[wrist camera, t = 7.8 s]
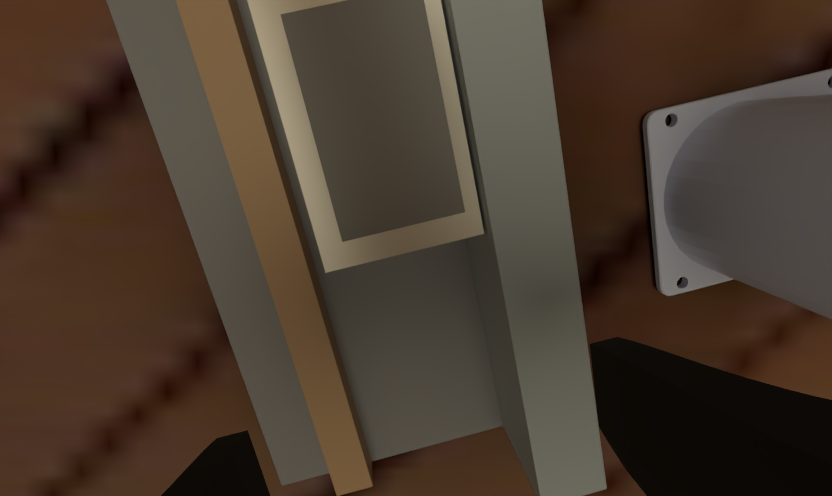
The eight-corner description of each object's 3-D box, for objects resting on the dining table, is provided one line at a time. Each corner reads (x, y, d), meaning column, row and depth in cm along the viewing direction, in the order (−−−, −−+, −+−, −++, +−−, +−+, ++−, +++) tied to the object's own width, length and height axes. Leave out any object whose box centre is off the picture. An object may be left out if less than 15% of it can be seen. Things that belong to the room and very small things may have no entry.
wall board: (437, -380, 15) (483, -663, 9) (559, 398, 22) (622, 484, 17) (6, -307, 14) (-208, -570, 9) (284, 472, 22) (261, 586, 16)
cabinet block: (413, -13, 16) (452, -107, 10) (457, 210, 19) (514, 260, 12) (270, 18, 16) (208, -57, 9) (332, 241, 18) (317, 310, 12)
